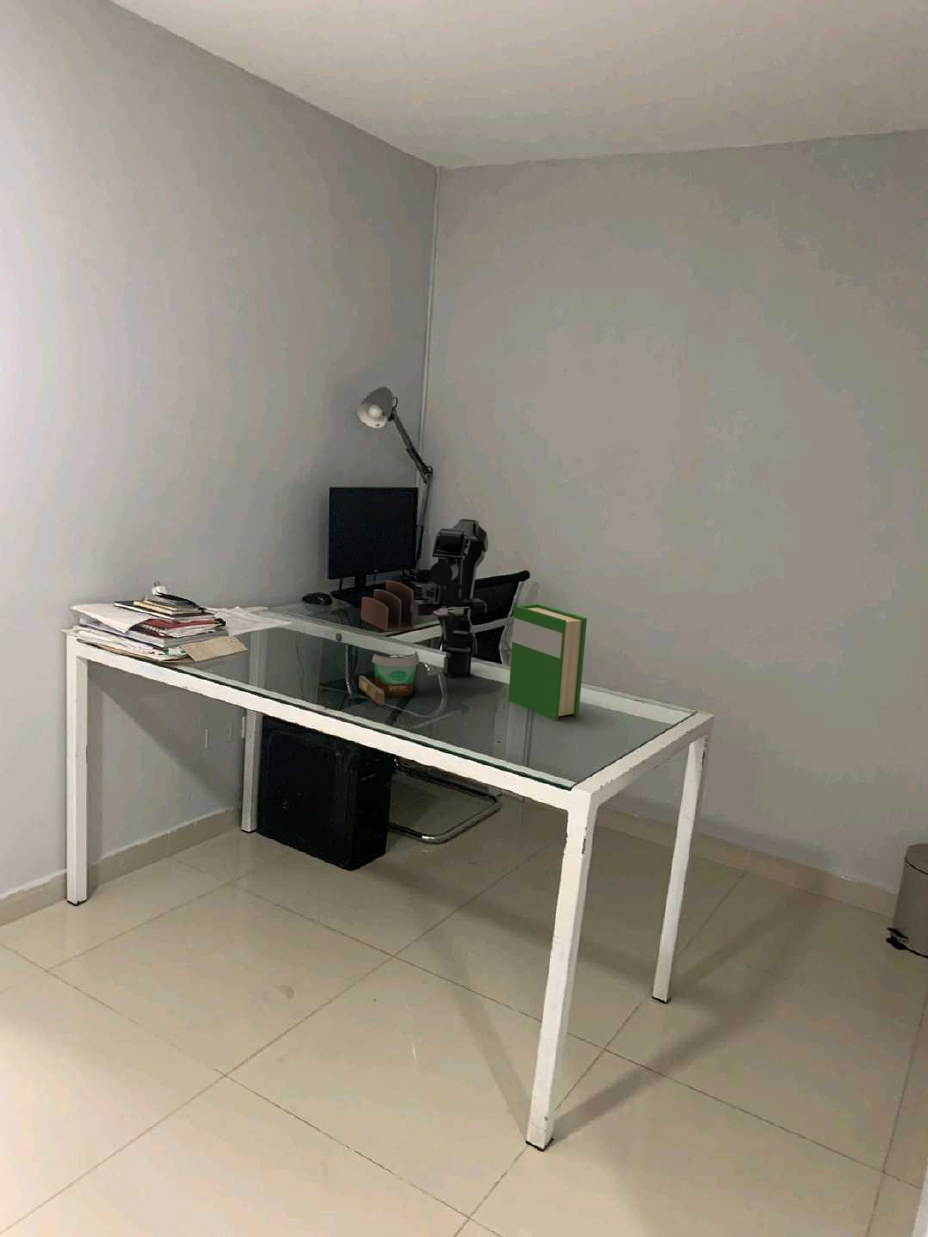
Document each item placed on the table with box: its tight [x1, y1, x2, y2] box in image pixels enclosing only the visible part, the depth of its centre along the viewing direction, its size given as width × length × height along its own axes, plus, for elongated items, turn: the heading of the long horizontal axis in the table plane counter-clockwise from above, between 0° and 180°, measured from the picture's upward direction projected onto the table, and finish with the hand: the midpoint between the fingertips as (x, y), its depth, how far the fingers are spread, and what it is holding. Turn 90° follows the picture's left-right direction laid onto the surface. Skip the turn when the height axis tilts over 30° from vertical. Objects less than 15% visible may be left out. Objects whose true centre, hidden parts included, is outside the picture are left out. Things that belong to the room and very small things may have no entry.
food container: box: [371, 650, 420, 698], centre depth 230 cm, size 12×6×10 cm, turn 118°
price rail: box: [358, 675, 386, 707], centre depth 227 cm, size 1×16×3 cm, turn 25°
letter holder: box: [360, 580, 415, 633], centre depth 306 cm, size 10×20×14 cm, turn 31°
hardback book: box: [507, 603, 588, 722], centre depth 224 cm, size 18×7×24 cm, turn 36°
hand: (446, 640), depth 235 cm, fingers closed
